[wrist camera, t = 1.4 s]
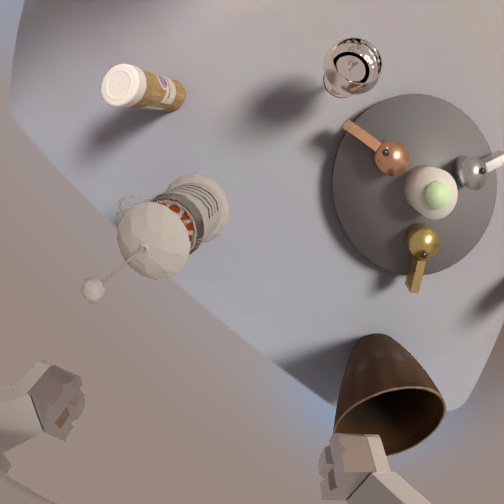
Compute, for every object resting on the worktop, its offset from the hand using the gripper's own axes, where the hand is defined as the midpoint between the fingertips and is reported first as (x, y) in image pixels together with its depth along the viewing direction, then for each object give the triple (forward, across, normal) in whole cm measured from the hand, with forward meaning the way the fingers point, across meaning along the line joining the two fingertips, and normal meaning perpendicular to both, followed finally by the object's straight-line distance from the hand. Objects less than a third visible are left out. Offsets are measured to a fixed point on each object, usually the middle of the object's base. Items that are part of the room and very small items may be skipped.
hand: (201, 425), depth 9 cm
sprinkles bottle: (+36, +14, -13) cm, 40 cm away
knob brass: (+31, -22, 0) cm, 38 cm away
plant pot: (+35, -23, +18) cm, 45 cm away
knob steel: (+30, -27, -14) cm, 42 cm away
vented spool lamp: (+36, +9, +2) cm, 37 cm away
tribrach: (+33, -20, -9) cm, 40 cm away
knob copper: (+31, -12, -11) cm, 35 cm away
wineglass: (+34, -7, -19) cm, 39 cm away
